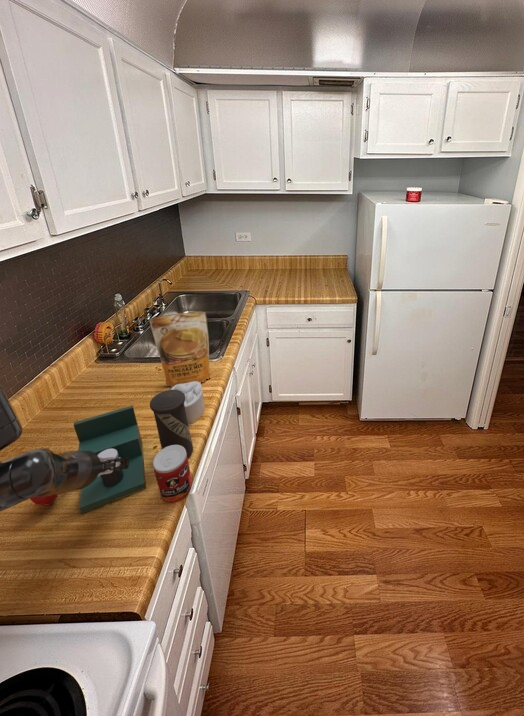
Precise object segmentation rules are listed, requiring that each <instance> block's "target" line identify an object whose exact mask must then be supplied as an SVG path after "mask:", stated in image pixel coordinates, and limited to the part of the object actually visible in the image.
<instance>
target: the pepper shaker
mask: <svg viewBox="0 0 524 716" xmlns="http://www.w3.org/2000/svg"><path fill="white" fill-rule="evenodd" d="M97 456H98V457H99V458H100V457H101V458H109V457H114V459H116V458H118V452H117V450H116V449H107V450H104V451H102V452H101V453H99V454H98V455H97ZM104 461H107V460H104ZM113 468H114V467H113ZM100 476H101V479H102V482H103V485H104V486H105V487H112V486H115V485H117V484H118V483H119V482H120V481H121V480H122V479H123V471H122V469H121V470H118V471H113V472H112V473H109V474H103V475H100Z"/></svg>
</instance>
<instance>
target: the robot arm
mask: <svg viewBox="0 0 524 716" xmlns="http://www.w3.org/2000/svg"><path fill="white" fill-rule="evenodd" d="M23 429H24V428H23V426H22V424H21V421H20V419H19V417H18V416H17V414H16V412H15V410H14V408H13V405H12V404H11V402H10V400H9V398H8V396H7V394H6V392H5V391H4V388H3V386H2V384H1V383H0V452H1V451H2V450H4V449H6V448H8V447H9V446H10V445H12V444H13V443H15V442H16V441H17V440H19V439H20V437H21V436H22V434H23ZM129 458H130V457H128V456H127V457H125V458H116V459H114V457H109V458H101V457H100V458H99V457H98V456H97V455H96V454H95V453H94V452H92V451H78V450H71V451H65V452H61V453H60V452H59V453H56V452H54V451H52V450H51V449H49V448H46V447H45V448H43V447H42V448H35V449H32V450H29V451H26V452H24V453H21V454H18V455H17V456H14V457H12V458H9V459H6V460H4V461H0V513H1V512H3V511H6V510H8V509H9V508H12V507H15V506H16V505H18V504H20V503H23V502H26V501H27V500H30V498H32V497H46V496H51V495H54V494H58V495H63V494H68V493H71V492H75V491H78V490H81V489H82V488H85V487H87V486H88V485H90V484H91V483H92V482H93V481H94V480H95V479H96V477H99V476H100V475H103V474H109V473H112V472H113V471H118V470H121V469H127V468H129ZM104 460H107V461H104ZM113 467H114V468H113Z"/></svg>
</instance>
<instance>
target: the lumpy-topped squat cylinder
mask: <svg viewBox="0 0 524 716" xmlns="http://www.w3.org/2000/svg"><path fill="white" fill-rule="evenodd" d="M170 388H171V389H170V390H180V391H182V392H183V393H184V394H185V402H184V406H185V411H186V416H187V420H188V425H189V426H190V425H191V424H194V423H195V422H197V421H198V420H199V419H200V418H201V417H202V415H203V414H204V413H205V410H206V409H205V400H204V399H205V398H204V392H203V385H202V383H200V382H197V381H193V382H189V383H183V384H177V385H175V386H174V387H170Z"/></svg>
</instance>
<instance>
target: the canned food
mask: <svg viewBox="0 0 524 716" xmlns="http://www.w3.org/2000/svg"><path fill="white" fill-rule="evenodd" d="M152 464H153V465H152V467H153V472H154V475H155V479H156V483H157V487H158V492H159V495H160V497H161V499H162V500H163V501H165V502H166V503H176V502H178V501H180V500H182V499H184V498H185V497H186V496H187V495H188V493H189V492H190V490H191V488H192V483H193V479H192V475H191V469H190V464H189V458H187V453H186V450H185V448H184V447H183V446H180V445H171V446H168V447H165V448H164V449H161V450H159V451H158V452H157V453H156V455H154V458H153V460H152Z"/></svg>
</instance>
